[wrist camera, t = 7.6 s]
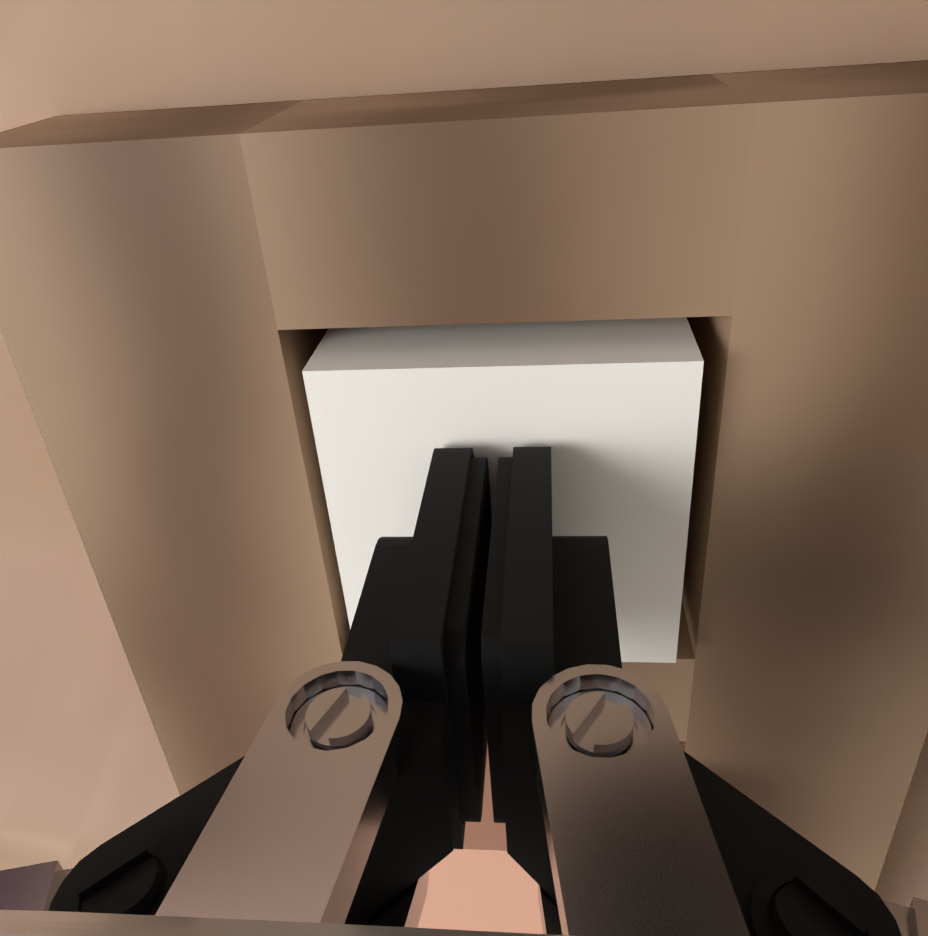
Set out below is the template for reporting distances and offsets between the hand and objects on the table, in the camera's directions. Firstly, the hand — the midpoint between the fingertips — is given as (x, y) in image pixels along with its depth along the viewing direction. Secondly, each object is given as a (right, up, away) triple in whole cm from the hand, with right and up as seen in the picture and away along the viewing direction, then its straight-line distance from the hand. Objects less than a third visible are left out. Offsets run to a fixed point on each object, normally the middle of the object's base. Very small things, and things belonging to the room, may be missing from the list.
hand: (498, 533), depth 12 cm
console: (+1, -5, +7) cm, 9 cm away
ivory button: (0, +2, +3) cm, 3 cm away
